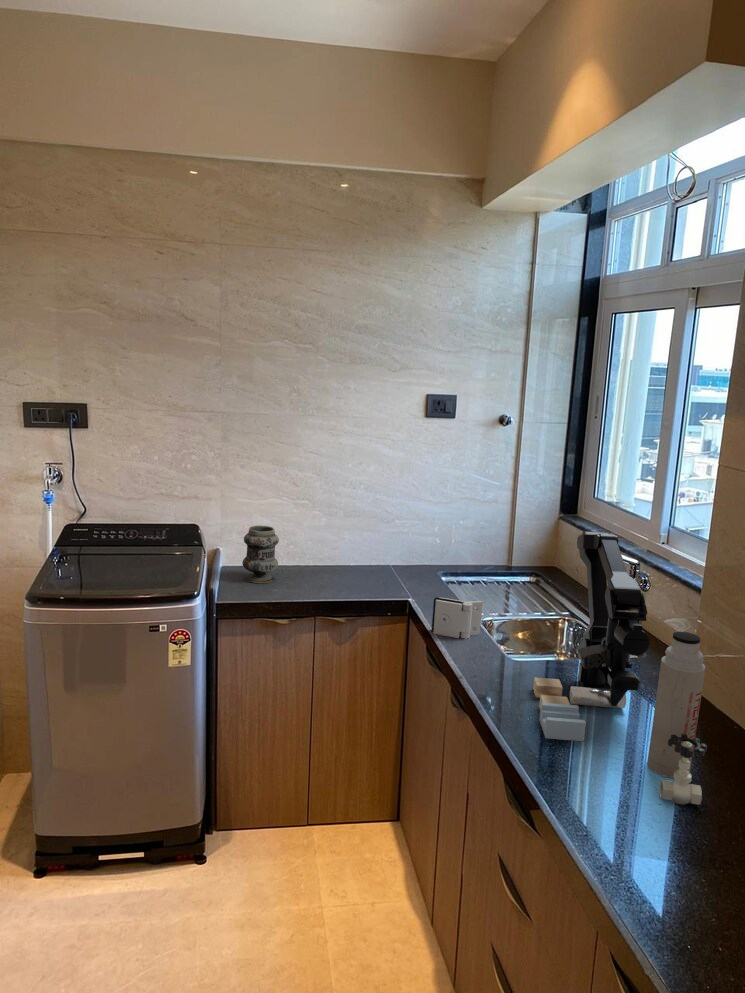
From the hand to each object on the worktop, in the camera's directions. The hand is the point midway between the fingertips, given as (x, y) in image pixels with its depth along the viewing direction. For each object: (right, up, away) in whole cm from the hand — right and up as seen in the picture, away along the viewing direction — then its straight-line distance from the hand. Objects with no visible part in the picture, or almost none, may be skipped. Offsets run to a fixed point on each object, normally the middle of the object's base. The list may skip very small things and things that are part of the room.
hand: (611, 701), depth 173 cm
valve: (+1, -9, -36) cm, 37 cm away
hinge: (-31, +8, +41) cm, 53 cm away
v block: (-15, -3, -12) cm, 19 cm away
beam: (-14, -1, +1) cm, 14 cm away
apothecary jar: (-94, +19, +82) cm, 126 cm away
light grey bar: (-3, -1, 0) cm, 3 cm away
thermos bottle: (+4, -7, -24) cm, 26 cm away
